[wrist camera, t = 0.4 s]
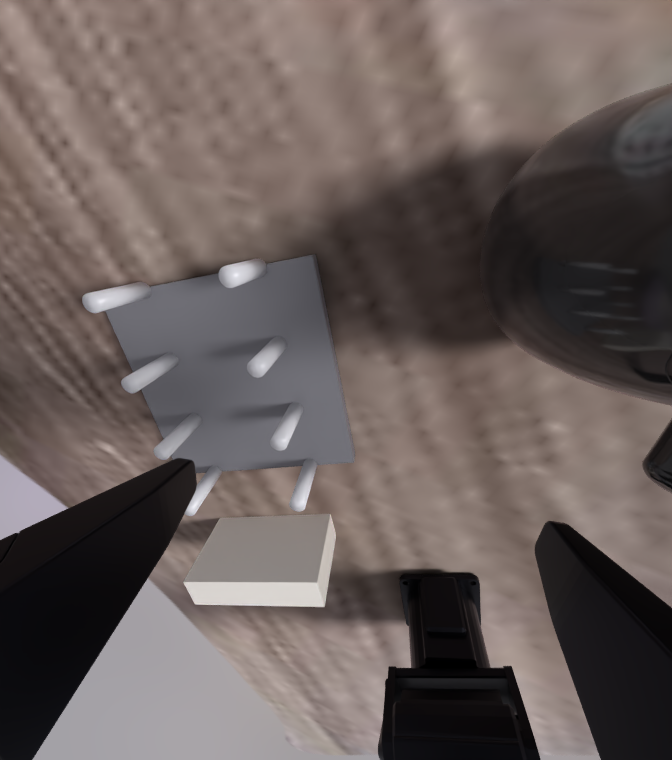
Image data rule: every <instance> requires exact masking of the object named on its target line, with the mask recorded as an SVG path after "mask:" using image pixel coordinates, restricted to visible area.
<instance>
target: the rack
mask: <svg viewBox="0 0 672 760" xmlns="http://www.w3.org/2000/svg"><path fill="white" fill-rule="evenodd" d="M82 302H83V305H84V307H85V308H86V309H87V310H88V311H90V312H92V313H98V312H101V311H105V312H106V314H107V316H108V318H109V320H110V323H111V325H112V327H113V329H114V331H115V334H116V336H117V338H118V340H119V342H120V345H121V347H122V349H123V351H124V353H125V356H126V358H127V360H128V362H129V364H130V367H131V369H132V371H133V373H131V374H130V375H128V376H126V377H124V378H123V379H122V381H121V384H122V387H123V388H124V389H125V390H126V391H127V392H129V393H136V392H137V391H139V390H140V389H141V391H142V393H143V395H144V397H145V400H146V402H147V404H148V406H149V408H150V411H151V413H152V415H153V417H154V419H155V422H156V424H157V426H158V428H159V430H160V433H161V435H162V437H163V439H164V440H163V441H161V442H160V443H159V444H158V445H157V446H156V447H155V448H154V454H155V455H156V457H158V458H159V459H162V460H166V459H168V458H169V457H170V456H171V457H172V459H173V460H174V459H176V458H184V459H190V460H192V461H194V463H195V471H196V473H205V472H206V474H205V475H204V476H203V478H202V479H201V480H200V482H199V483H198V484H197V486H196V491H195V493H194V496H193V498H192V500H191V502H190V504H189V505H188V507H187V509H186V511H185V513H184V514H185V515H188V516H193V515H194V514H195V513H196V511H197V510H198V508H199V507H200V505H201V504H202V502H203V501H204V499H205V498H206V496H207V495H208V493H209V492H210V490H211V489H212V487H213V486H214V484H215V483H216V481H217V480H218V478H219V477H220V475H221V474H222V471H235V470H250V469H264V468H279V467H294V466H302V469H301V472H300V474H299V477H298V480H297V483H296V486H295V489H294V492H293V495H292V497H291V500H290V503H289V505H290V507H291V509H293V510H294V511H298V512H299V511H303V510H304V509H305V506H306V503H307V499H308V496H309V492H310V489H311V485H312V482H313V478H314V475H315V471H316V468H317V465H323V464H338V463H353V462H354V459H355V450H354V445H353V440H352V435H351V430H350V425H349V420H348V415H347V410H346V405H345V400H344V395H343V390H342V384H341V379H340V374H339V369H338V364H337V359H336V354H335V349H334V344H333V339H332V334H331V329H330V324H329V319H328V313H327V308H326V303H325V298H324V293H323V288H322V283H321V278H320V273H319V268H318V263H317V258H316V254H313V255H308V256H303V257H298V258H292V259H287V260H282V261H277V262H272V263H267V264H266V263H265V262H264V261H263V260H262V259H259V258H256V259H252V260H247V261H243V262H239V263H235V264H231V265H226V266H223V267H222V268H221V269H220V271H219V273H216V274H211V275H206V276H200V277H195V278H190V279H185V280H180V281H175V282H170V283H165V284H160V285H155V286H148V284H146V283H145V282H136V283H132V284H127V285H123V286H118V287H114V288H109V289H105V290H100V291H95V292H91V293H87V294H85V295H84V296H83V298H82Z"/></svg>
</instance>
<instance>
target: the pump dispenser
mask: <svg viewBox="0 0 672 760" xmlns="http://www.w3.org/2000/svg"><path fill="white" fill-rule="evenodd" d="M480 281H481V288H482V292H483V296H484V299H485V303H486V305H487V308H488V310H489V312H490V314H491V316H492V318H493V319H494V321H495V322H496V324H497V325H498V326H499V328H500V329H501V330H502V331H503V332H504V334H505V335H506V336H507V337H508V338H509V339H511V340H512V341H513V342H514V343H515V344H516V345H517V346H519V347H520V348H521V349H523V350H524V351H525V352H527V353H528V354H530V355H532V356H533V357H535V358H537V359H538V360H540V361H542V362H544V363H546V364H548V365H550V366H552V367H554V368H556V369H558V370H560V371H562V372H564V373H566V374H569V375H571V376H573V377H576V378H578V379H580V380H583V381H585V382H588V383H591V384H594V385H596V386H599V387H602V388H605V389H608V390H612V391H615V392H618V393H621V394H625V395H629V396H632V397H636V398H640V399H644V400H648V401H652V402H656V403H661V404H666V405H670V406H672V83H671V84H667V85H664V86H661V87H657V88H654V89H650V90H647V91H644V92H641V93H638V94H635V95H632V96H630V97H627V98H624V99H622V100H619V101H617V102H614V103H612V104H610V105H607V106H605V107H603V108H601V109H599V110H597V111H595V112H593V113H591V114H589V115H587V116H585V117H583V118H582V119H580V120H578V121H577V122H575V123H573V124H572V125H570V126H568V127H567V128H565V129H564V130H562V131H561V132H559V133H558V134H557V135H555V136H554V137H553V138H551V139H550V140H549V141H548V142H546V143H545V144H544V145H543V146H542V147H541V148H540V149H538V150H537V151H536V152H535V153H534V154H533V155H532V156H531V157H530V158H529V159H528V160H527V161H526V163H525V164H524V165H523V166H522V167H521V168H520V169H519V171H518V172H517V173H516V174H515V176H514V177H513V178H512V180H511V181H510V182H509V184H508V185H507V187H506V188H505V190H504V192H503V193H502V195H501V197H500V198H499V200H498V202H497V204H496V206H495V208H494V210H493V212H492V215H491V217H490V220H489V222H488V225H487V228H486V231H485V235H484V239H483V243H482V248H481V256H480ZM642 467H643V470H644V472H645V474H646V475H647V476H648V478H649V479H650V480H652V481H653V482H654V483H655V484H657V485H658V486H660V487H661V488H663V489H664V490H666V491H668V492H670V493H672V419H671V420H670V422H669V423H668V425H667V426H666V428H665V429H664V431H663V432H662V433H661V435H660V436H659V438H658V439H657V441H656V442H655V444H654V445H653V447H652V448H651V450H650V451H649V453H648V454H647V455H646V457H645V458H644V460H643V463H642Z"/></svg>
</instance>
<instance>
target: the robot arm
mask: <svg viewBox="0 0 672 760" xmlns="http://www.w3.org/2000/svg"><path fill="white" fill-rule="evenodd" d="M196 486H197V482H196V471H195V463H194V461H192V460H190V459H184V458H176V459H174V460H172V461H169V462H167V463H165V464H163V465H161V466H159V467H157V468H154V469H152V470H150V471H148V472H146V473H144V474H142V475H139V476H137V477H135V478H133V479H131V480H129V481H126V482H124V483H122V484H120V485H118V486H116V487H114V488H111V489H109V490H107V491H105V492H103V493H101V494H99V495H96V496H94V497H92V498H90V499H88V500H86V501H83V502H81V503H79V504H77V505H75V506H73V507H71V508H68V509H66V510H64V511H62V512H60V513H58V514H56V515H53V516H51V517H49V518H47V519H45V520H43V521H40V522H38V523H36V524H34V525H32V526H30V527H28V528H25V529H23V530H21V531H20V533H19V534H18V533H15V534H13V535H10V536H8V537H6V538H4V539H2V540H0V760H32V759H33V758H34V756H35V755H36V753H37V751H38V750H39V748H40V746H41V745H42V744H43V742H44V740H45V739H46V737H47V736H48V734H49V733H50V731H51V729H52V728H53V726H54V725H55V723H56V721H57V720H58V718H59V717H60V715H61V714H62V712H63V711H64V709H65V707H66V706H67V704H68V703H69V701H70V700H71V698H72V696H73V694H74V693H75V692H76V690H77V688H78V687H79V685H80V684H81V682H82V681H83V679H84V677H85V676H86V674H87V673H88V671H89V670H90V668H91V666H92V665H93V663H94V662H95V660H96V659H97V657H98V656H99V654H100V652H101V651H102V649H103V648H104V646H105V645H106V643H107V641H108V640H109V638H110V636H111V635H112V633H113V632H114V630H115V629H116V627H117V626H118V624H119V622H120V621H121V619H122V618H123V616H124V615H125V613H126V611H127V610H128V608H129V607H130V605H131V604H132V602H133V600H134V599H135V597H136V596H137V594H138V592H139V591H140V589H141V588H142V586H143V585H144V583H145V582H146V580H147V578H148V577H149V575H150V574H151V572H152V571H153V569H154V567H155V566H156V564H157V563H158V561H159V560H160V558H161V556H162V555H163V553H164V552H165V550H166V548H167V547H168V545H169V543H170V541H171V539H172V537H173V535H174V533H175V531H176V529H177V527H178V525H179V523H180V521H181V519H182V517H183V515H184V513H185V511H186V509H187V507H188V505H189V504H190V502H191V500H192V498H193V496H194V493H195V491H196ZM535 556H536V560H537V564H538V568H539V572H540V576H541V580H542V584H543V588H544V592H545V596H546V600H547V604H548V608H549V612H550V615H551V619H552V622H553V625H554V628H555V631H556V634H557V637H558V640H559V643H560V646H561V649H562V651H563V654H564V657H565V660H566V663H567V665H568V668H569V671H570V674H571V677H572V680H573V682H574V685H575V688H576V691H577V694H578V696H579V699H580V702H581V705H582V708H583V711H584V713H585V716H586V719H587V722H588V725H589V727H590V730H591V733H592V736H593V739H594V741H595V744H596V747H597V750H598V753H599V756H600V758H601V760H672V608H671V607H670V606H669V605H667V604H666V603H665V602H664V601H662V600H661V599H660V598H659V597H657V596H656V595H655V594H654V593H653V592H651V591H650V590H649V589H648V588H646V587H645V586H644V585H643V584H641V583H640V582H639V581H638V580H636V579H635V578H634V577H633V576H631V575H630V574H629V573H628V572H626V571H625V570H624V569H623V568H621V567H620V566H619V565H618V564H616V563H615V562H614V561H613V560H611V559H610V558H609V557H608V556H607V555H605V554H604V553H603V552H602V551H600V550H599V549H598V548H597V547H595V546H594V545H593V544H592V543H590V542H589V541H588V540H587V539H585V538H584V537H583V536H582V535H580V534H579V533H578V532H577V531H575V530H574V529H573V528H572V527H570V526H569V525H568V524H565V523H560V522H555V521H548V522H546V523H545V525H544V527H543V529H542V531H541V533H540V535H539V538H538V540H537V542H536V544H535ZM399 580H400V588H401V594H402V601H403V607H404V613H405V619H406V624H407V625H408V626H409V636H410V653H411V668H396V667H389V670H388V679H386V681H385V701H384V714H383V723H382V728H381V733H380V739H379V744H378V755H379V758H380V760H540V756H539V753H538V749H537V746H536V742H535V739H534V736H533V732H532V729H531V726H530V723H529V720H528V716H527V713H526V710H525V707H524V704H523V701H522V698H521V694H520V691H519V688H518V685H517V682H516V679H515V676H514V672H513V669H512V666H503V667H504V668H490V664H489V660H488V655H487V651H486V647H485V643H484V639H483V634H482V630H481V614H480V583H479V579H478V577H477V576H475V575H402V576H400V578H399Z"/></svg>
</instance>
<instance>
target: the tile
mask: <svg viewBox="0 0 672 760" xmlns="http://www.w3.org/2000/svg"><path fill="white" fill-rule="evenodd" d="M335 540H336V533H335V529H334V526H333V522H332V518H331V514H310V515H284V516H257V517H231V518H220V519H219V520H218V522H217V524H216V526H215V527H214V529H213V531H212V533H211V534H210V536H209V538H208V540H207V541H206V543H205V545H204V547H203V548H202V550H201V552H200V554H199V555H198V557H197V559H196V561H195V562H194V564H193V566H192V568H191V569H190V571H189V573H188V575H187V576H186V578H185V580H184V584H185V586H186V588H187V590H188V592H189V594H190V596H191V597H192V599H193V601H194V603H195V605H247V606H298V607H325V602H326V595H327V589H328V583H329V577H330V571H331V565H332V558H333V552H334V546H335Z"/></svg>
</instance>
